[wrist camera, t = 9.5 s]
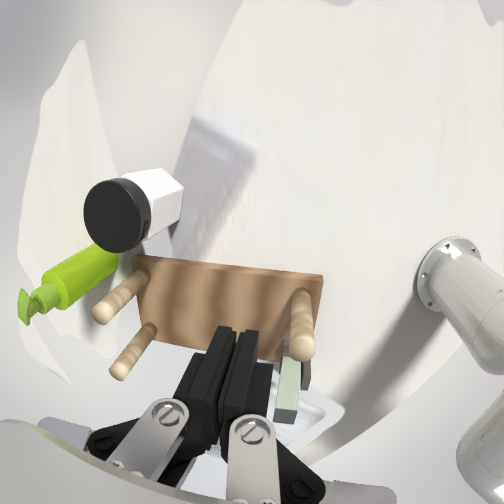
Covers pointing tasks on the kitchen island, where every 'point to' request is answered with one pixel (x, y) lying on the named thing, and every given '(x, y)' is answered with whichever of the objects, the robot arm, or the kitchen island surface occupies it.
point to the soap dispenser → (67, 282)
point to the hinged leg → (287, 391)
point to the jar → (132, 208)
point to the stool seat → (216, 308)
